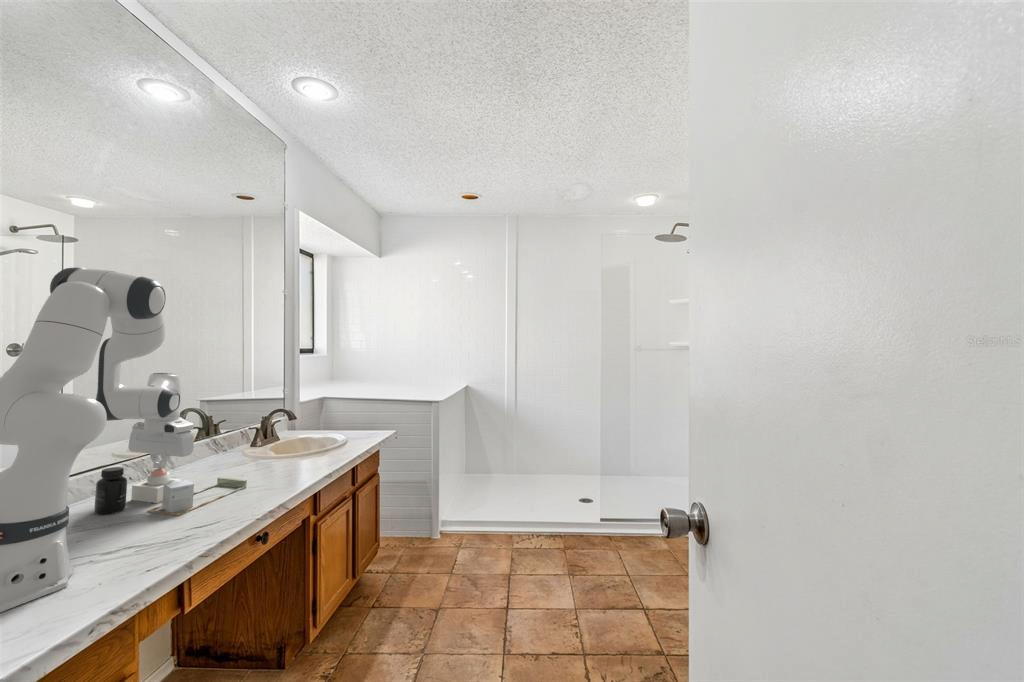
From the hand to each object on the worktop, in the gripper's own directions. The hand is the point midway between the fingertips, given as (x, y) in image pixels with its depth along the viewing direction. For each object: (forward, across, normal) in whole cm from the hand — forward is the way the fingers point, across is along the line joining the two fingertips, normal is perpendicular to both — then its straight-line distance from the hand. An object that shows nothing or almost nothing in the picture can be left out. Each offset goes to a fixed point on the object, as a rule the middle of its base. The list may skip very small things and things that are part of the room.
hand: (159, 467), depth 144 cm
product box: (+9, +13, -6) cm, 17 cm away
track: (+9, +13, +2) cm, 16 cm away
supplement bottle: (+9, -2, -13) cm, 16 cm away
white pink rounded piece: (+7, 0, 0) cm, 7 cm away
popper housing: (+9, 0, 0) cm, 9 cm away
